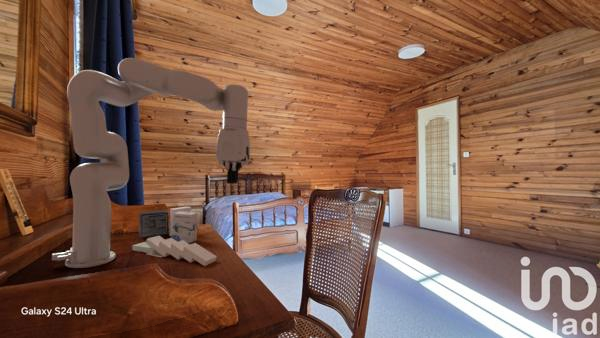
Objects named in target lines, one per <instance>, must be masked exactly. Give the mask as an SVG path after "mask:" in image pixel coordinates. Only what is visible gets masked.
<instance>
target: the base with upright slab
mask: <svg viewBox="0 0 600 338" xmlns="http://www.w3.org/2000/svg"><path fill="white" fill-rule="evenodd" d="M180 211H183V212H192V206H182V207H175V208H174V207H173V208H170V211H169V212H170V213H169V222H168V236H170V237H172V232H173V214H174V213H177V212H180Z"/></svg>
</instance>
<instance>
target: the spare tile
mask: <svg viewBox="0 0 600 338" xmlns="http://www.w3.org/2000/svg"><path fill="white" fill-rule="evenodd" d="M132 251H134V252H140V253H145V254H147V253H151V254H154V253H157V251H156V250H154V249H153V248H151V247H150V246H149V245H147V244H146V241H142V242H140V243H139V242H138V243H136V244H132Z"/></svg>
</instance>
